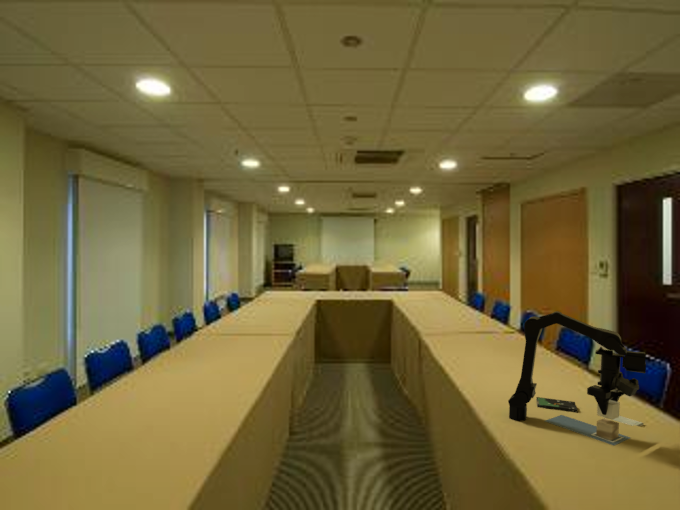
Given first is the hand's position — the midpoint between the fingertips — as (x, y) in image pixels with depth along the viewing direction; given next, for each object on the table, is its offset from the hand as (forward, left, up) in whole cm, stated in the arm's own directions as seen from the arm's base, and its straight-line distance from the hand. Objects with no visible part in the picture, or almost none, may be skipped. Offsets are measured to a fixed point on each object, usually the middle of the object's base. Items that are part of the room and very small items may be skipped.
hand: (608, 413), depth 165 cm
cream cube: (0, 0, -1) cm, 1 cm away
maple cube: (0, 0, -8) cm, 8 cm away
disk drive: (+14, +27, -10) cm, 32 cm away
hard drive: (+22, +5, -10) cm, 24 cm away
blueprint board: (0, +7, -9) cm, 12 cm away
